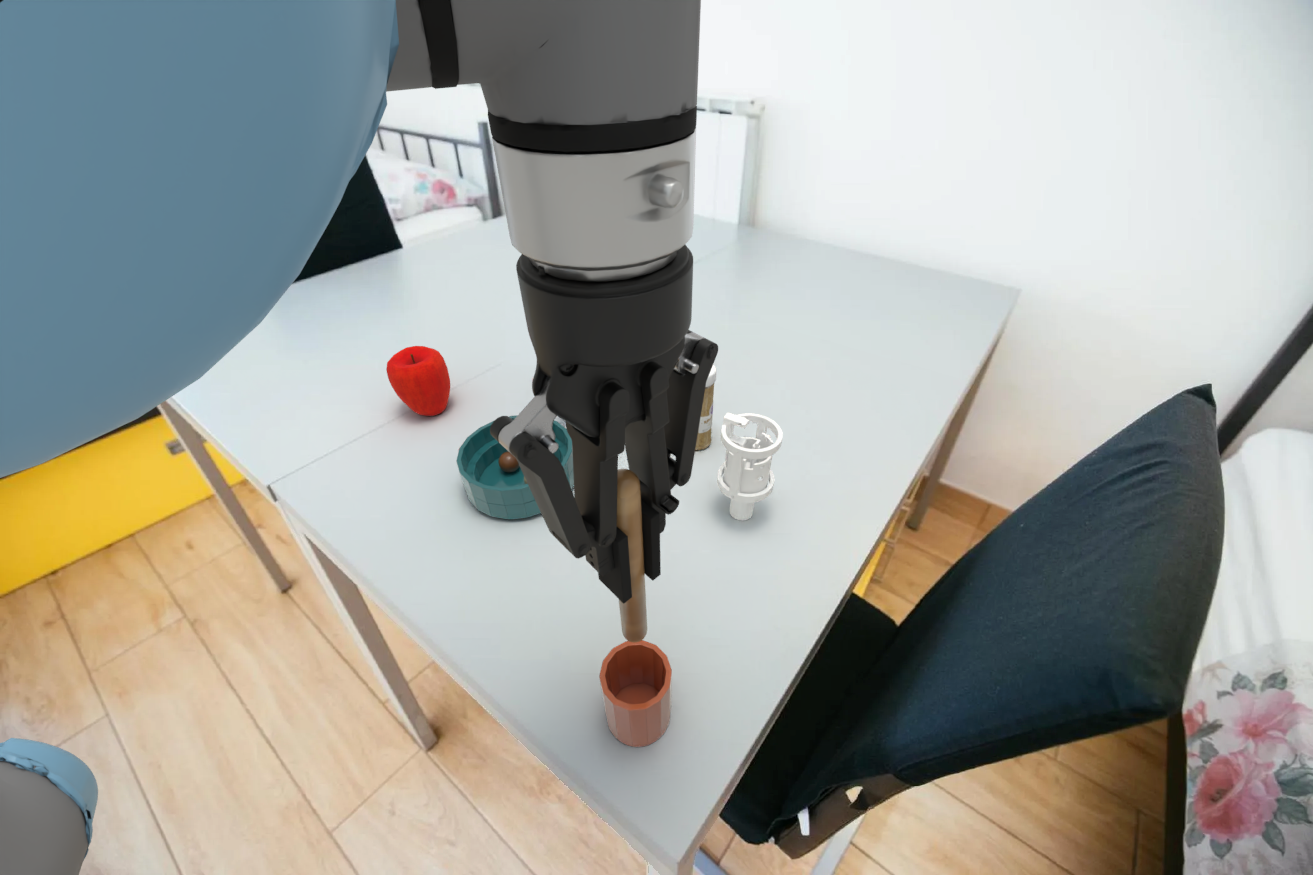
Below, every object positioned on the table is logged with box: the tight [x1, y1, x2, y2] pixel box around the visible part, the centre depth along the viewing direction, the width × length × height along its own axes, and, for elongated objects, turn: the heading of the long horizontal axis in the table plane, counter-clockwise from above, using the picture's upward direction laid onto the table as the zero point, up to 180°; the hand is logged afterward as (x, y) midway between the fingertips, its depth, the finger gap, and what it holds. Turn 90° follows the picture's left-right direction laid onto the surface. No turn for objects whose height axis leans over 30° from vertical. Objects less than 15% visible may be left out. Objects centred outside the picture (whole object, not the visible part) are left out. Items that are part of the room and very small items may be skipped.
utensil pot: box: [598, 639, 673, 748], centre depth 50 cm, size 6×6×8 cm
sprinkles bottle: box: [695, 363, 717, 451], centre depth 78 cm, size 5×5×14 cm
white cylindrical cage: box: [716, 412, 784, 522], centre depth 67 cm, size 7×7×15 cm
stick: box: [617, 468, 648, 643], centre depth 37 cm, size 2×2×18 cm
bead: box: [498, 451, 519, 473], centre depth 77 cm, size 3×3×3 cm
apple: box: [386, 345, 451, 417], centre depth 86 cm, size 9×9×11 cm
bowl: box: [456, 414, 574, 520], centre depth 75 cm, size 15×15×6 cm
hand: (629, 576), depth 38 cm, fingers closed on stick, 2 cm apart
